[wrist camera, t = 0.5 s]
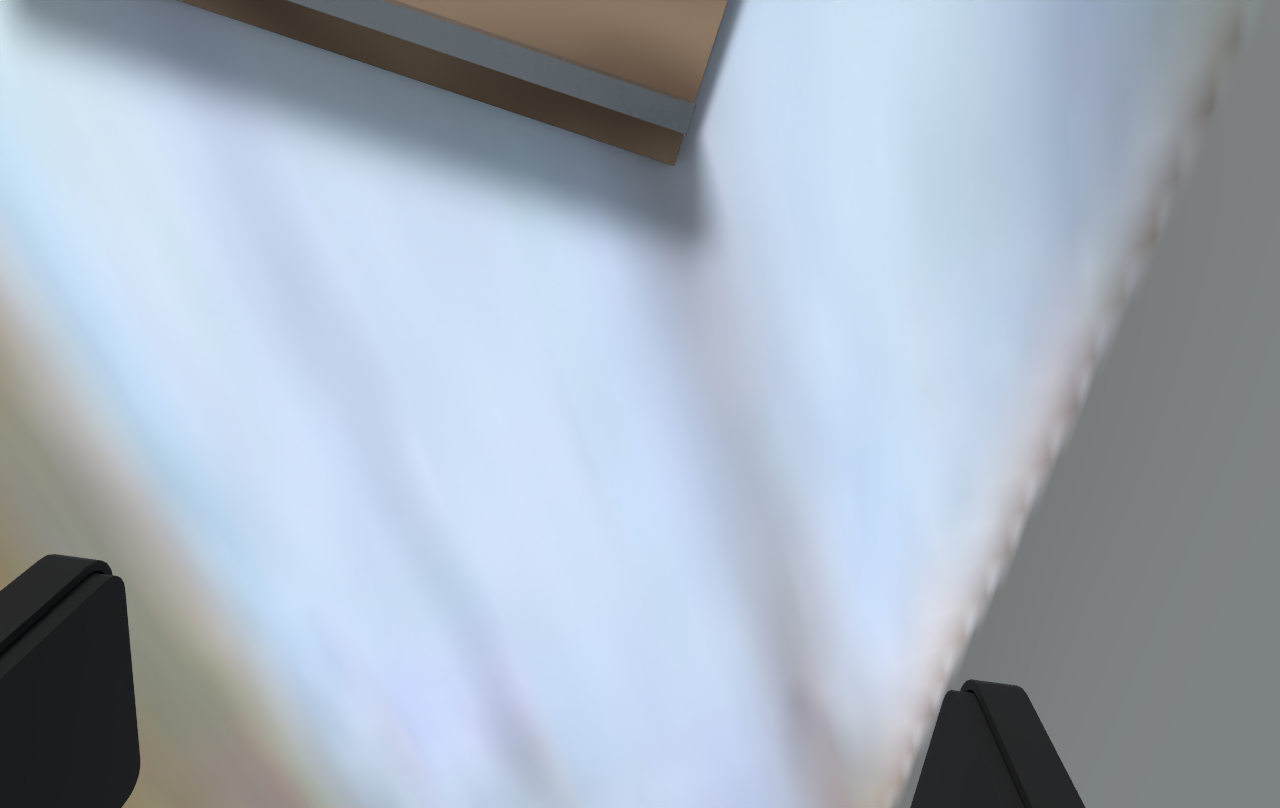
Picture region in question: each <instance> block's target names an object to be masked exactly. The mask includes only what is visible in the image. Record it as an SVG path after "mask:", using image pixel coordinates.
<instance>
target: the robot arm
mask: <svg viewBox="0 0 1280 808" xmlns="http://www.w3.org/2000/svg"><path fill="white" fill-rule="evenodd" d="M139 770H140V751H139V740H138V729H137V718H136V706H135V695H134V684H133V672H132V661H131V650H130V639H129V627H128V616H127V605H126V593H125V586H124V582H123V581H122V579H121V578H120V577H118V576H113V575H112V571H111V568H110V567H109V565H108V564H107V563H105V562H103V561H101V560H93V559H86V558H79V557H71V556H64V555H57V554H53V555H47V556H45V557H43V558H42V559H40V560H39V561H37V562H36V563H35V564H34V565H32V566H31V567H30V568H29V569H27V570H26V571H25V572H24V573H22V574H21V575H20V576H19V577H17V578H16V579H15V580H14V581H12V582H11V583H10V584H9V585H7V586H6V587H5V588H4V589H2V590H1V591H0V808H121V807H122V806H123V805H124V803H125V802H126V801H127V799H128V798H129V796H130V795H131V793H132V791H133V789H134V787H135V785H136V782H137V779H138V775H139ZM910 808H1085V806H1084V804H1083V802H1082V800H1081V798H1080V797H1079V794H1078V792H1077V791H1076V789H1075V787H1074V785H1073V783H1072V781H1071V779H1070V777H1069V775H1068V773H1067V771H1066V769H1065V767H1064V765H1063V763H1062V762H1061V760H1060V758H1059V756H1058V754H1057V752H1056V750H1055V748H1054V746H1053V744H1052V742H1051V740H1050V738H1049V736H1048V734H1047V733H1046V731H1045V729H1044V727H1043V725H1042V723H1041V721H1040V719H1039V717H1038V715H1037V713H1036V711H1035V709H1034V707H1033V705H1032V703H1031V702H1030V699H1029V698H1028V696H1027V694H1026V693H1025V691H1024V690H1023V689H1022V688H1021V687H1019V686H1015V685H1008V684H1007V685H1006V684H1000V683H993V682H985V681H978V680H968V681H966V682H965V683H964V684H963V686H962V688H961V690H960V691H954V690H950V691H948V692H947V694H946V695H945V697H944V700H943V703H942V706H941V709H940V712H939V716H938V719H937V722H936V726H935V729H934V732H933V735H932V739H931V742H930V745H929V749H928V752H927V755H926V758H925V762H924V765H923V768H922V772H921V775H920V778H919V781H918V785H917V788H916V791H915V794H914V798H913V801H912V804H911V807H910Z"/></svg>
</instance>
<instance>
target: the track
mask: <svg viewBox="0 0 1280 808" xmlns="http://www.w3.org/2000/svg"><path fill="white" fill-rule="evenodd" d="M178 1H181V2H184V3H187V4H190V5H193V6H196V7H199V8H202V9H205V10H208V11H211V12H214V13H217V14H220V15H223V16H226V17H229V18H232V19H235V20H238V21H241V22H244V23H247V24H250V25H253V26H256V27H259V28H262V29H265V30H268V31H271V32H274V33H277V34H280V35H283V36H286V37H289V38H292V39H295V40H298V41H301V42H304V43H307V44H310V45H313V46H316V47H319V48H322V49H325V50H328V51H331V52H334V53H337V54H340V55H343V56H346V57H349V58H352V59H355V60H358V61H361V62H364V63H367V64H370V65H373V66H376V67H379V68H382V69H385V70H388V71H391V72H394V73H397V74H400V75H403V76H406V77H409V78H412V79H415V80H418V81H421V82H424V83H427V84H430V85H433V86H436V87H439V88H442V89H445V90H448V91H451V92H454V93H457V94H460V95H463V96H466V97H469V98H472V99H475V100H478V101H481V102H484V103H487V104H490V105H493V106H496V107H499V108H502V109H505V110H508V111H511V112H514V113H517V114H520V115H523V116H526V117H529V118H532V119H535V120H538V121H541V122H544V123H547V124H550V125H553V126H556V127H559V128H562V129H565V130H568V131H571V132H574V133H577V134H580V135H583V136H586V137H589V138H592V139H595V140H598V141H601V142H604V143H607V144H610V145H613V146H616V147H619V148H622V149H625V150H628V151H631V152H634V153H637V154H640V155H643V156H646V157H649V158H652V159H655V160H658V161H661V162H664V163H667V164H670V165H673V166H674V164H675V161H676V158H677V155H678V152H679V149H680V145H681V142H682V139H683V136H684V134H687V131H688V128H689V125H690V122H691V119H692V115H693V112H694V109H695V99H696V96H697V93H698V90H699V87H700V84H701V81H702V78H703V75H704V71H705V68H706V65H707V62H708V59H709V56H710V53H711V50H712V47H713V44H714V41H715V38H716V35H717V31H718V28H719V25H720V22H721V19H722V16H723V13H724V10H725V7H726V4H727V1H728V0H178Z"/></svg>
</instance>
